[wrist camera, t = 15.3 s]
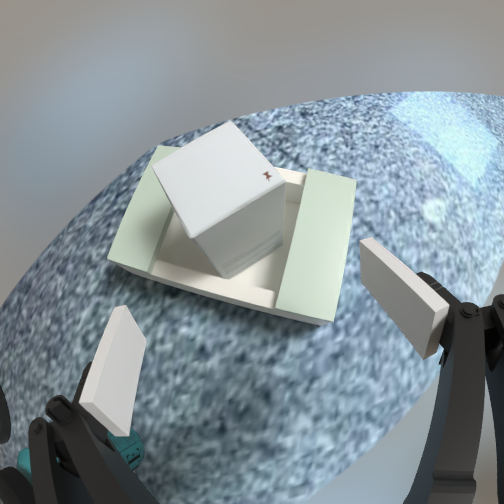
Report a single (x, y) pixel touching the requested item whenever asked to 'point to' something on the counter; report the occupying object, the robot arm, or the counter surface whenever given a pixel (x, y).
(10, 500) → the beverage bottle
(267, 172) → the supplement box
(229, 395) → the counter surface
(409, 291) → the robot arm
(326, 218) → the cream green tray
